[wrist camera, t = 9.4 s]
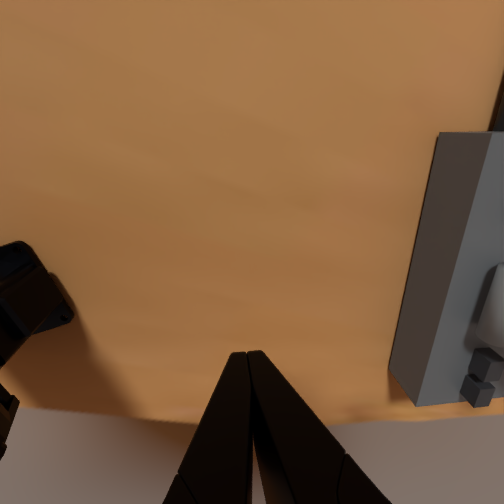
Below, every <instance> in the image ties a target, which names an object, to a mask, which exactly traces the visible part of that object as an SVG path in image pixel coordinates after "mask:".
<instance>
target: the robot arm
mask: <svg viewBox="0 0 504 504" xmlns="http://www.w3.org/2000/svg"><path fill="white" fill-rule="evenodd" d="M16 247H19V248H20V249H21V251H18V250H17V248H16ZM63 315H66V316H67V317H68V318H66V317H64V316H63ZM73 318H74V314H73V312H72V310H71V309H70V307H69V306H68V304H67V303H66V301H65V300H64V298H63V296H62V294H61V293H60V291H59V290H58V288H57V287H56V286H55V284H54V283H53V281H52V280H51V278H50V277H49V275H48V274H47V272H46V271H45V269H44V268H43V267H42V266H41V264H40V263H39V261H38V260H37V258H36V257H35V255H34V254H33V252H32V251H31V249H30V248H29V246H28V245H27V244H26V243H25V242H23V241H15V242H12V243H9V244H6V245H3V246H0V369H1V368H2V367H3V366H4V364H5V363H6V362H7V361H8V360H9V359H10V358H11V357H12V356H13V354H14V353H15V352H16V351H17V350H18V349H19V348H20V347H21V346H22V345H23V343H24V342H25V341H26V340H27V339H28V338H29V337H30V336H31V335H33V334H37V333H40V332H43V331H46V330H49V329H52V328H55V327H58V326H61V325H64V324H68V323H69V322H71V320H72V319H73ZM19 403H20V401H19V400H18V399H17V398H16V397H15V396H14V395H10V393H9V392H8V391H7V390H6V389H5V388H4V387H3V386H2V385H1V384H0V460H1V458H2V457H3V456H4V453H5V451H6V448H7V445H6V444H5V442H6V439H7V437H8V434H9V431H10V428H11V425H12V423H13V420H14V417H15V414H16V412H17V409H18V406H19ZM253 441H254V446H255V452H256V457H257V462H258V466H259V471H260V476H261V481H262V486H263V490H264V495H265V500H266V504H392V503H391V502H390V501H389V500H388V499H387V498H386V497H385V496H384V495H383V494H382V493H381V491H380V490H379V489H378V488H377V487H376V486H375V484H374V483H373V482H372V481H371V480H370V479H369V478H368V477H367V476H366V474H365V473H364V472H363V471H362V470H361V469H360V467H359V466H358V465H357V464H356V462H355V461H354V460H353V459H352V458H351V456H350V455H349V454H345V453H346V452H345V449H344V448H343V447H342V446H341V445H340V443H339V442H338V441H337V440H336V439H335V437H334V436H333V435H332V434H331V433H330V431H329V430H328V429H327V428H326V427H325V425H324V424H323V423H322V422H321V421H320V419H319V418H318V417H317V416H316V415H315V413H314V412H313V411H312V410H311V409H310V407H309V406H308V405H307V404H306V403H305V401H304V400H303V399H302V398H301V397H300V395H299V394H298V393H297V392H296V391H295V389H294V388H293V387H292V386H291V385H290V383H289V382H288V381H287V380H286V379H285V377H284V376H283V375H282V374H281V372H280V371H279V370H278V369H277V368H276V366H275V365H274V364H273V363H272V362H271V360H270V359H269V358H268V357H267V356H266V354H265V353H264V352H263V351H261V350H255V351H248V352H247V353H246V352H233V353H231V354H230V356H229V359H228V361H227V363H226V365H225V367H224V370H223V372H222V374H221V376H220V378H219V381H218V383H217V385H216V387H215V389H214V392H213V394H212V396H211V398H210V401H209V403H208V405H207V407H206V409H205V412H204V414H203V416H202V418H201V420H200V423H199V425H198V427H197V429H196V431H195V434H194V436H193V438H192V440H191V443H190V445H189V447H188V449H187V452H186V454H185V456H184V458H183V460H182V463H181V465H180V467H179V469H178V474H177V475H176V476H175V477H174V480H173V482H172V484H171V486H170V488H169V491H168V493H167V495H166V497H165V499H164V501H163V503H162V504H252V473H253Z"/></svg>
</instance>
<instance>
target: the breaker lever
mask: <svg viewBox="0 0 504 504" xmlns="http://www.w3.org/2000/svg"><path fill="white" fill-rule="evenodd" d="M475 333H476V335H477V337H478V338H480V339H481V340H482V341H484V342H486V343H488V344H490V345H493V346H496V347H501V348H504V262H501V263H499V264H498V266H497V269H496V272H495V275H494V278H493V281H492V284H491V287H490V290H489V293H488V296H487V299H486V301H485V304H484V307H483V310H482V313H481V316H480V319H479V322H478V325H477V328H476V331H475Z"/></svg>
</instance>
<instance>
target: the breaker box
mask: <svg viewBox="0 0 504 504" xmlns="http://www.w3.org/2000/svg"><path fill="white" fill-rule="evenodd" d="M501 262H504V92H503V95H502V99H501V103H500V106H499V110H498V113H497V117H496V120H495V124H494V128H493V131H483V132H440V133H439V137H438V142H437V147H436V151H435V156H434V160H433V165H432V170H431V174H430V179H429V184H428V188H427V193H426V198H425V202H424V207H423V212H422V216H421V221H420V226H419V230H418V235H417V239H416V244H415V249H414V253H413V258H412V263H411V267H410V272H409V277H408V281H407V286H406V291H405V295H404V300H403V305H402V309H401V314H400V318H399V323H398V328H397V332H396V337H395V342H394V346H393V351H392V356H391V360H390V365H389V370H390V371H391V373H392V374H393V376H394V377H395V379H396V380H397V381H398V383H399V384H400V386H401V387H402V388H403V390H404V391H405V393H406V394H407V395H408V397H409V398H410V400H411V401H412V402H413V404H414V405H415V407H419V406H428V405H437V404H446V403H455V402H464V401H468V402H469V403H470V404H471V405H472V407H473V408H476V407H485V406H489V404H490V401H491V399H492V398H500V397H504V348H501V347H496V346H493V345H490V344H488V343H486V342H484V341H482V340H481V339H480V338H478V337H477V335H476V333H475V331H476V328H477V325H478V322H479V319H480V316H481V313H482V310H483V307H484V304H485V301H486V299H487V296H488V293H489V290H490V287H491V284H492V281H493V278H494V275H495V272H496V269H497V266H498V264H499V263H501Z"/></svg>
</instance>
